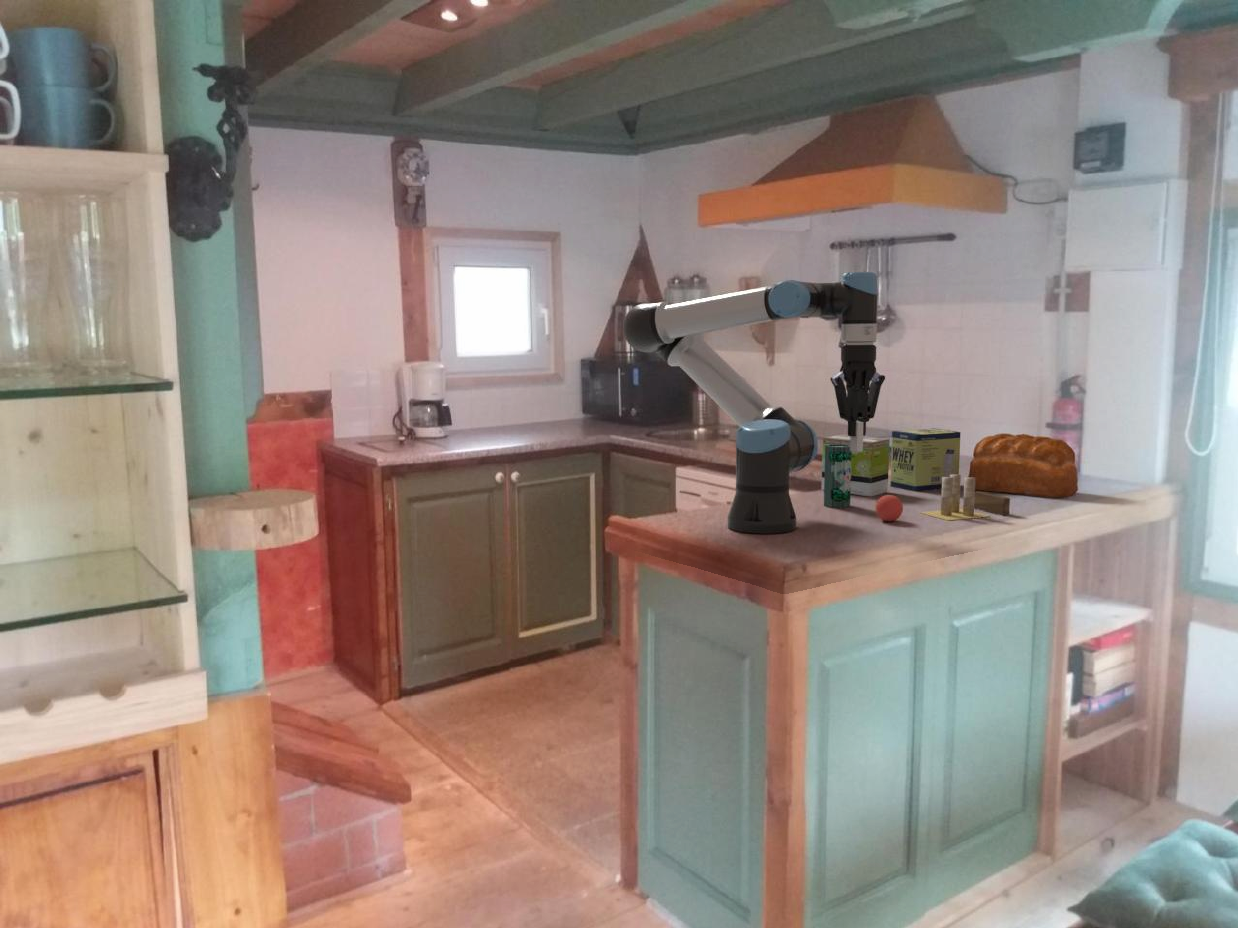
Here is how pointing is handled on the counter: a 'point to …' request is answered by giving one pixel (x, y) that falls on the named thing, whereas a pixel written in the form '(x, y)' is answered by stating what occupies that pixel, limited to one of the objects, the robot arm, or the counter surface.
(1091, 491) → the counter surface
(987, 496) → the back rail
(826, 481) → the can
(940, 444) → the protein box
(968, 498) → the pin rear right
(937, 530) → the counter surface
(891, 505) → the ball
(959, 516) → the plate
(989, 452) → the bread
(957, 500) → the pin rear left
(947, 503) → the pin front
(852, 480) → the tea box
